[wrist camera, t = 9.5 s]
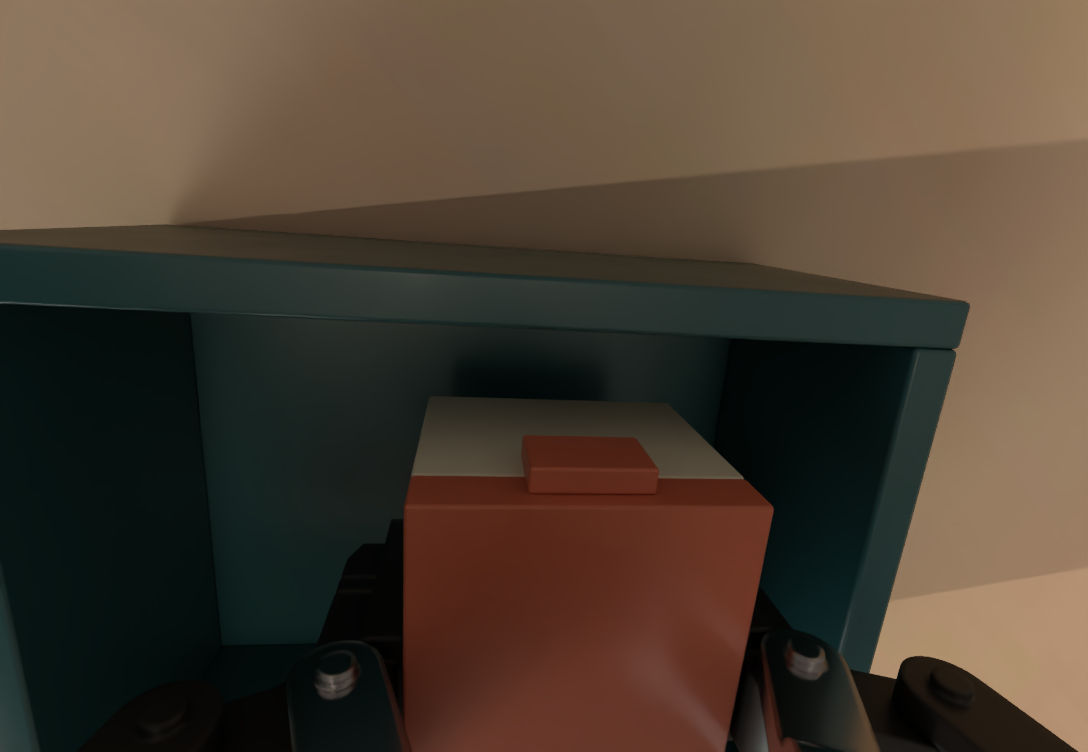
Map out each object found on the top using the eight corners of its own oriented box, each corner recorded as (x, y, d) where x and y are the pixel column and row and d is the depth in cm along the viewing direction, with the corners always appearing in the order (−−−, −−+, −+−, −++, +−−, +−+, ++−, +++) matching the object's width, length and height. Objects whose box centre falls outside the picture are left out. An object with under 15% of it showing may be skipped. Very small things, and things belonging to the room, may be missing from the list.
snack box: (429, 376, 11) (402, 476, 7) (670, 384, 12) (781, 480, 8) (423, 692, 13) (401, 920, 9) (628, 684, 14) (698, 892, 10)
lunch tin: (756, 263, 16) (973, 302, 9) (693, 635, 19) (816, 870, 12) (162, 224, 14) (-147, 234, 7) (207, 649, 17) (28, 942, 10)
